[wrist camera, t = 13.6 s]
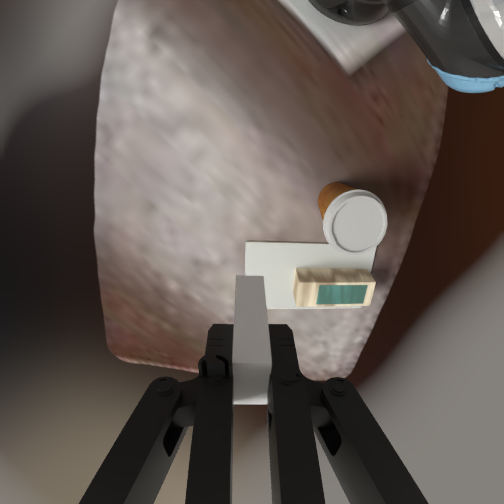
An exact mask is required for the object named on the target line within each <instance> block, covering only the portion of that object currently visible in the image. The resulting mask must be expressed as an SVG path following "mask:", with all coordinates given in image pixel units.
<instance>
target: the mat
mask: <svg viewBox="0 0 504 504" xmlns="http://www.w3.org/2000/svg"><path fill="white" fill-rule="evenodd" d="M375 251H376V247H375V248H373V249H372V250H370V251H369V252H366V253H364V254H360V255H350V254H345V253H342V252H339V251H337V250H336V249H334V248H333V247H332V246H331V245H330V244H329V243H301V242H261V241H246V255H245V275H246V276H264V285H265V296H266V306H267V309H333V308H362V306H327V307H296V303H295V299H294V295H293V284H294V275H295V268H347V269H367V270H368V271H369V273H371V269H372V265H373V260H374V256H375Z"/></svg>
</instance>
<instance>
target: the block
mask: <svg viewBox="0 0 504 504" xmlns="http://www.w3.org/2000/svg"><path fill="white" fill-rule="evenodd" d="M375 284H376V282H375V280H374V279H373V277H372V276H371V274H370V273H369V271H368V270H367V269H347V268H295V275H294V284H293V295H294V299H295V303H296V307H327V306H368V305H370V303H371V299H372V296H373V292H374V288H375Z"/></svg>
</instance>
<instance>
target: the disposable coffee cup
mask: <svg viewBox="0 0 504 504" xmlns="http://www.w3.org/2000/svg"><path fill="white" fill-rule="evenodd" d="M318 205H319V208H320V212H321V215H322V219H323V231H324V235H325V237H326V239H327V241H328V243H329V244H330V245H331V246H332V247H333V248H334V249H336V250H337V251H339V252H342V253H345V254H350V255H360V254H364V253H366V252H369V251H370V250H372V249H373V248H375V247H376V246H377V245H378V244H379V243H380V241H381V240H382V238H383V236H384V235H385V232H386V228H387V215H386V209H385V207H384V205H383V203H382V202H381V200H380V199H379V198H378V197H377V196H376V195H374V194H373V193H371V192H368V191H365V190H360V189H359V190H357V189H355V188H352V187H350V186H347V185H345V184H342V183H337V182H336V183H331V184H329V185H327V186H325V187H324V188H323V189H322V191H321V192H320V194H319V198H318Z"/></svg>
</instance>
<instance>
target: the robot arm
mask: <svg viewBox="0 0 504 504" xmlns="http://www.w3.org/2000/svg"><path fill="white" fill-rule="evenodd" d="M309 2H310V3H311V4H312V5H313V6H314V7H315V8H316V9H317V10H318V11H320V12H321V13H322V14H324V15H325V16H327V17H329V18H331V19H333V20H335V21H337V22H340V23H344V24H348V25H366V24H370V23H373V22H375V21H377V20H378V19H380V18H382V17H383V16H384V15H385V14H386V13H387V12H388V11H389V10H390V11H391V12H392V14H393V15H394V16H395V17H396V18H397V19H398V21H399V22H400V23H401V24H402V26H403V27H404V28H405V29H406V31H407V32H408V33H409V34H410V36H411V37H412V38H413V40H414V41H415V42H416V44H417V45H418V46H419V48H420V49H421V51H422V52H423V53H424V55H425V56H426V58H427V60H428V62H429V64H430V65H431V66H432V68H434V69H435V70H436V71H437V73H438V74H439V76H440V77H441V79H442V80H443V81H444V82H445V83H446V84H447V85H448V86H449V87H451V88H453V89H455V90H458V91H461V92H467V93H481V92H488V91H492V90H494V88H495V87H503V86H504V0H309ZM198 368H199V376H198V377H196V378H195V379H192V380H189V381H185V382H178V381H177V380H176V379H174V378H172V377H160V378H157V379H155V380H153V382H152V383H151V384H150V385H149V387H148V388H147V390H146V391H145V393H144V395H143V396H142V398H141V400H140V401H139V403H138V405H137V406H136V408H135V410H134V411H133V413H132V415H131V416H130V418H129V420H128V421H127V423H126V425H125V426H124V428H123V429H122V431H121V433H120V434H119V436H118V438H117V440H116V441H115V443H114V445H113V446H112V448H111V450H110V451H109V453H108V455H107V456H106V458H105V460H104V461H103V463H102V465H101V467H100V468H99V470H98V472H97V473H96V475H95V477H94V478H93V480H92V482H91V483H90V485H89V487H88V489H87V490H86V492H85V494H84V496H83V497H82V499H81V501H80V503H79V504H153V503H154V501H155V499H156V497H157V495H158V493H159V490H160V488H161V486H162V484H163V481H164V479H165V477H166V475H167V473H168V471H169V469H170V466H171V464H172V462H173V460H174V458H175V455H176V453H177V451H178V449H179V446H180V444H181V442H182V440H183V438H184V436H185V433H186V431H187V429H188V426H193V425H194V426H193V434H192V443H191V452H190V461H189V470H188V480H187V490H186V500H185V504H232V462H233V404H267V401H268V412H267V420H266V423H268V435H269V436H268V437H269V453H270V471H271V489H272V504H325V499H324V492H323V486H322V479H321V473H320V467H319V461H318V455H317V449H316V442H315V437H314V432H315V434H316V436H317V438H318V440H319V442H320V444H321V446H322V448H323V450H324V452H325V454H326V456H327V458H328V460H329V462H330V464H331V466H332V468H333V470H334V472H335V474H336V476H337V478H338V480H339V482H340V484H341V486H342V488H343V490H344V492H345V494H346V496H347V498H348V500H349V502H350V504H428V502H427V501H426V499H425V497H424V496H423V494H422V493H421V491H420V489H419V488H418V486H417V484H416V483H415V481H414V480H413V478H412V476H411V475H410V473H409V472H408V470H407V468H406V467H405V466H404V464H403V462H402V461H401V459H400V458H399V456H398V454H397V453H396V451H395V450H394V448H393V446H392V445H391V443H390V442H389V440H388V439H387V437H386V435H385V434H384V432H383V431H382V429H381V428H380V426H379V425H378V423H377V421H376V420H375V418H374V417H373V415H372V414H371V412H370V410H369V409H368V407H367V406H366V404H365V403H364V401H363V400H362V398H361V396H360V395H359V393H358V392H357V390H356V389H355V387H354V386H353V384H352V383H351V382H349V381H348V380H346V379H344V378H340V377H334V378H330V379H328V380H327V381H326V382H325V383H321V382H316V381H313V380H310V379H308V378H306V377H305V376H304V375H303V374H302V373H301V372H300V369H299V364H298V359H297V353H296V348H295V342H294V337H293V332H292V330H291V329H290V328H289V326H288V325H287V324H268V316H267V306H266V296H265V285H264V276H246V275H236V289H235V310H234V324H213V325H212V327H211V328H210V329H209V330H208V337H207V344H206V351H205V356H203V357H202V358H201V359H200V360H199V363H198Z"/></svg>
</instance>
